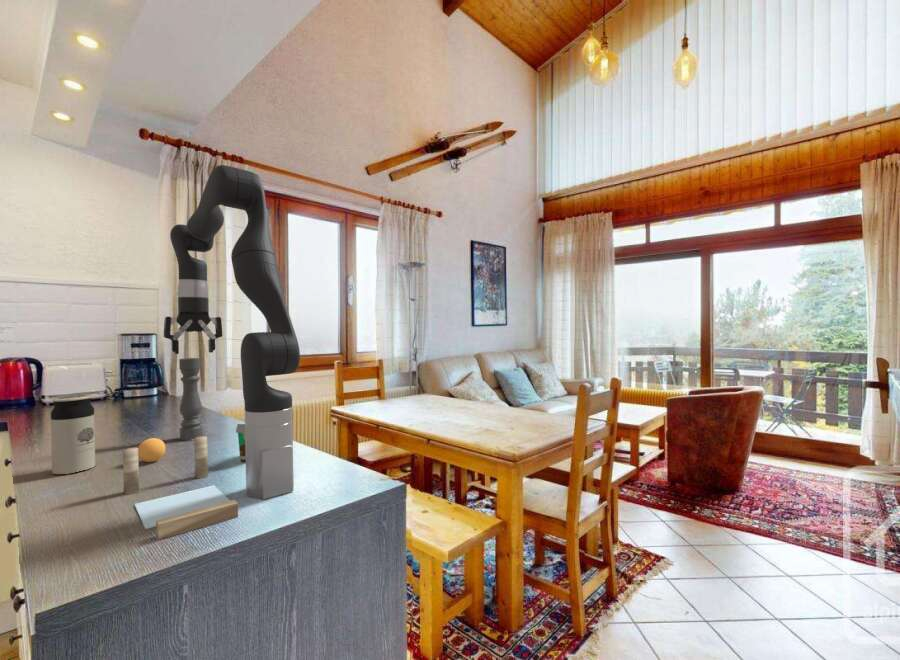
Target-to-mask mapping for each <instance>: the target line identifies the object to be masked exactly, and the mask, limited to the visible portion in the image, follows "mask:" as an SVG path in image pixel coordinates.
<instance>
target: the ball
mask: <svg viewBox="0 0 900 660" xmlns="http://www.w3.org/2000/svg"><path fill="white" fill-rule="evenodd" d="M166 447H167V446H166V443H165V442H164V441H163V440H162V439H160V438H155V437H151V438H147V439H145V440H143V441H142V442H141V443H140V444H139V445H138V447H137V448H138V459H139V460H141V461H142V462H146V463H154V462H157V461H158V460H160V459H161V458H162V457H163V456H164V454H165V453H166Z"/></svg>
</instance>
